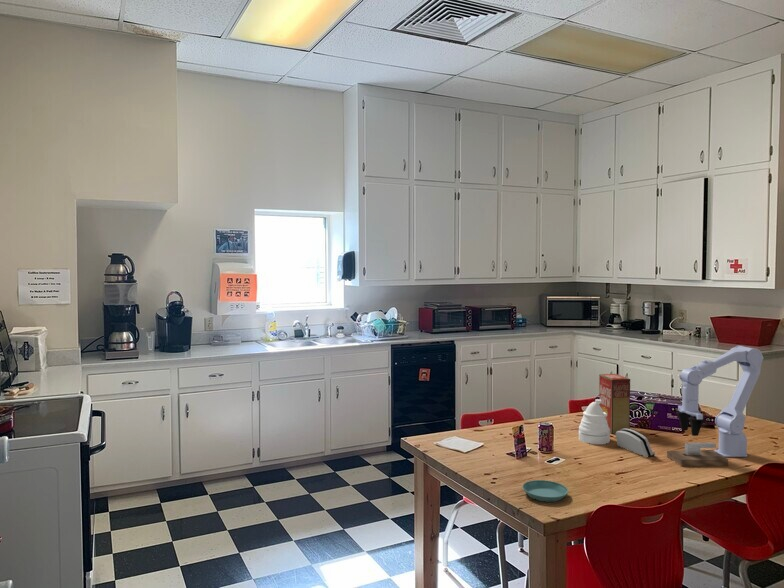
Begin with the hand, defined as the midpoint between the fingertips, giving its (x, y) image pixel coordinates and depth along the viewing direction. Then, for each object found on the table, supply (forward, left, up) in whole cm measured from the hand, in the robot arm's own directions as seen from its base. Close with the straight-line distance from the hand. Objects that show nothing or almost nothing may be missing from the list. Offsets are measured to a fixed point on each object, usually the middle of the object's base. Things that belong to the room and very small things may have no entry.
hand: (689, 432), depth 234 cm
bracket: (-1, +7, -9) cm, 11 cm away
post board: (+1, +7, -9) cm, 11 cm away
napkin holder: (+20, -6, -10) cm, 23 cm away
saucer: (+69, +38, -10) cm, 79 cm away
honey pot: (+30, -22, -10) cm, 39 cm away
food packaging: (+15, -37, -10) cm, 41 cm away
